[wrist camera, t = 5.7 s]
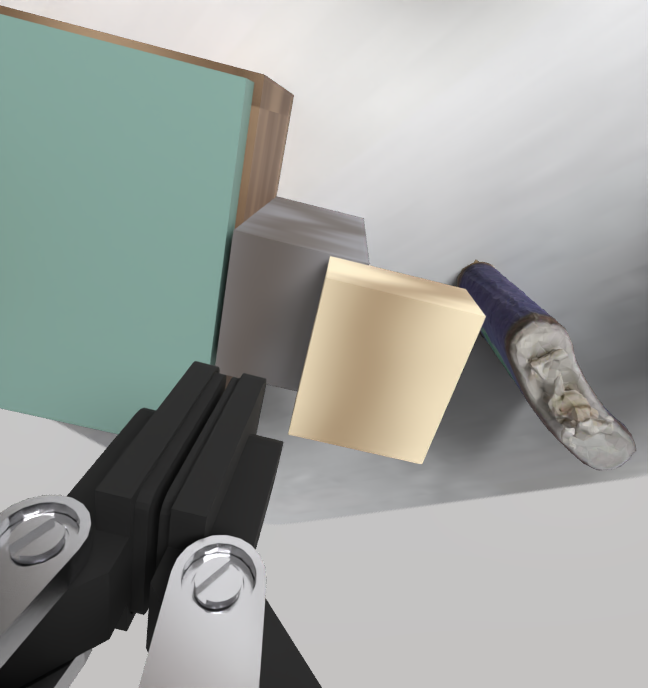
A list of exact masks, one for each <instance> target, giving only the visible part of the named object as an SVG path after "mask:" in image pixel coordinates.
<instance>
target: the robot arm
mask: <svg viewBox="0 0 648 688" xmlns="http://www.w3.org/2000/svg"><path fill="white" fill-rule="evenodd" d="M226 378H227V377H226V375H224V374H220V369H219V367H218V366H214V365H210V364H206V363H202V362H198V361H194V362H193V363H192V365H191V366H190V367H189V368H188V370H187V371H186V372H185V374H184V375H183V376H182V378H181V379H180V380H179V381H178V383H177V384H176V385H175V387H174V388H173V389H172V391H171V392H170V393H169V394H168V396H167V397H166V398H165V400H164V401H163V402H162V404H161V405H160V406H159V408H158V409H157V410H152V409H148V408H141V409H140V410H139V411H138V412H137V413H136V414H135V415H134V416H133V417H132V418H131V420H130V421H129V422H128V423H127V424H126V426H125V427H124V428H123V429H122V430H121V432H120V433H119V434H118V435H117V436H116V438H115V439H114V440H113V441H112V442H111V444H110V445H109V446H108V447H107V448H106V450H105V451H104V452H103V453H102V454H101V456H100V457H99V458H98V459H97V460H96V462H95V463H94V464H93V465H92V467H91V468H90V469H89V470H88V471H87V473H86V474H85V475H84V476H83V478H82V479H81V480H80V481H79V482H78V483H77V484H76V486H75V487H74V488H73V489H72V490H71V492H70V493H69V494H68V495H67V496H62V495H42V496H38V497H33V498H28V499H26V500H23V501H21V502H19V503H16V504H14V505H11V506H10V507H8V508H7V509H6V510H4V511H2V512H1V513H0V688H69V686H70V685H71V683H72V682H73V680H74V679H75V678H76V676H77V675H78V673H79V672H80V670H81V669H82V667H83V666H84V665H85V663H86V661H87V659H88V657H89V655H90V653H91V651H92V648H94V647H96V646H97V645H99V644H101V643H103V642H105V641H107V640H109V639H110V637H111V635H112V633H113V631H114V629H119V630H124V631H127V630H128V628H129V626H130V624H131V622H132V620H133V618H134V616H135V614H136V613H139V614H143V615H144V614H145V613H146V612H147V610H148V608H149V613H148V628H147V643H146V649H147V651H148V656H147V659H146V663H145V666H144V670H143V674H142V677H141V681H140V684H139V688H322V687H321V686H320V684H319V682H318V681H317V679H316V678H315V676H314V674H313V673H312V671H311V670H310V668H309V666H308V665H307V663H306V662H305V660H304V658H303V657H302V655H301V654H300V652H299V651H298V649H297V647H296V646H295V644H294V643H293V641H292V640H291V638H290V636H289V635H288V633H287V632H286V630H285V628H284V627H283V625H282V624H281V622H280V620H279V619H278V617H277V616H276V614H275V613H274V611H273V609H272V608H271V606H270V605H269V603H268V601H267V600H266V598H265V596H266V595H265V594H266V581H267V579H266V569H265V565H264V563H263V560H262V558H261V556H260V554H259V553H258V552H257V551H256V547H257V543H258V540H259V536H260V532H261V528H262V525H263V521H264V518H265V514H266V510H267V507H268V503H269V499H270V495H271V492H272V488H273V484H274V480H275V476H276V472H277V468H278V464H279V459H280V455H281V451H282V447H283V441H279V440H274V439H270V438H266V437H262V436H258V435H256V433H257V428H258V423H259V418H260V412H261V407H262V402H263V397H264V392H265V387H266V380H267V379H266V378H262V377H258V376H254V375H250V374H246V373H243V374H242V376H241V377H240V378H236V377H232V378H231V380H230V382H229V384H228V385H227V387H226V389H225V386H226Z"/></svg>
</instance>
